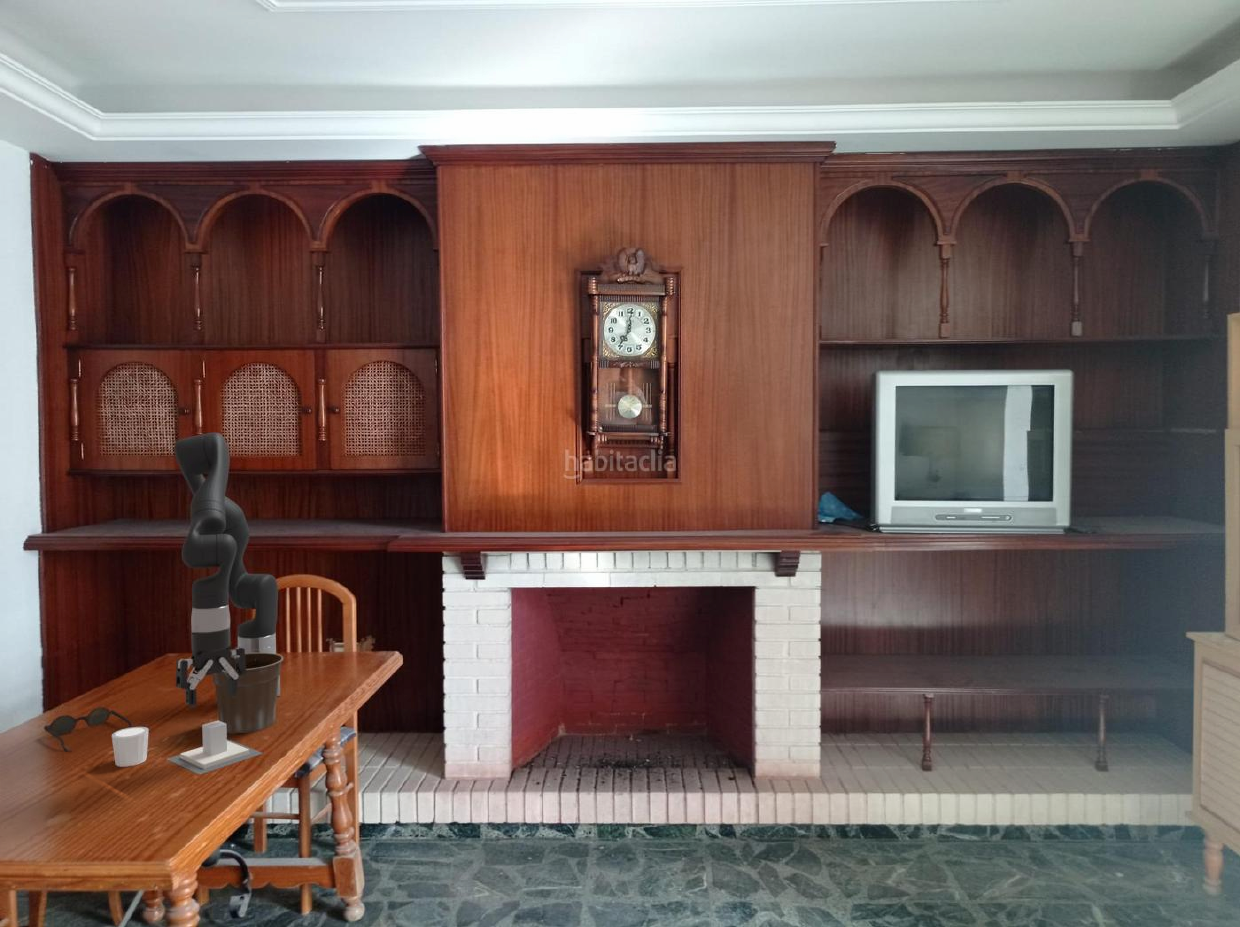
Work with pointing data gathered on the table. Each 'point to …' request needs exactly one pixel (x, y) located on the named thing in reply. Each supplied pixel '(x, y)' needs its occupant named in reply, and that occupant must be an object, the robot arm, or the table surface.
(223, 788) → the table surface
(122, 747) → the shot glass
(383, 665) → the table surface
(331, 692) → the table surface
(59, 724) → the eyeglasses
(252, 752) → the mat
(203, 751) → the lid
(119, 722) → the table surface
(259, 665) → the plant pot
